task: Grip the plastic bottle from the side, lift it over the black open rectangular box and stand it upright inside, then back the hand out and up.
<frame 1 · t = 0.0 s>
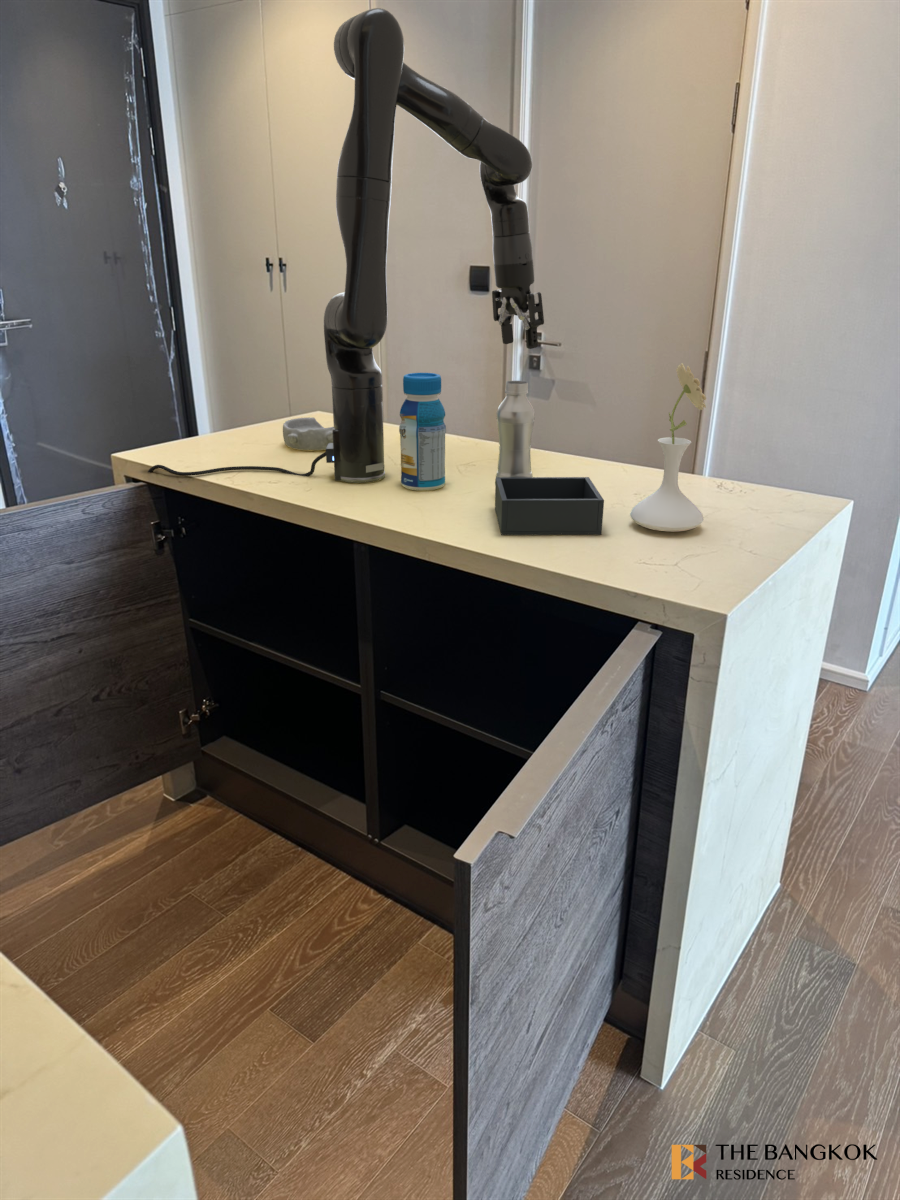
hand: (520, 345, 173), 22 cm above the table, tool pointing down, fingers open, 8 cm apart
dish: (314, 446, 189), on the table
beverage bottle: (423, 486, 159), on the table
plastic bottle: (513, 498, 152), on the table
black open rectangular box: (545, 521, 140), on the table
flower in vase: (665, 526, 138), on the table
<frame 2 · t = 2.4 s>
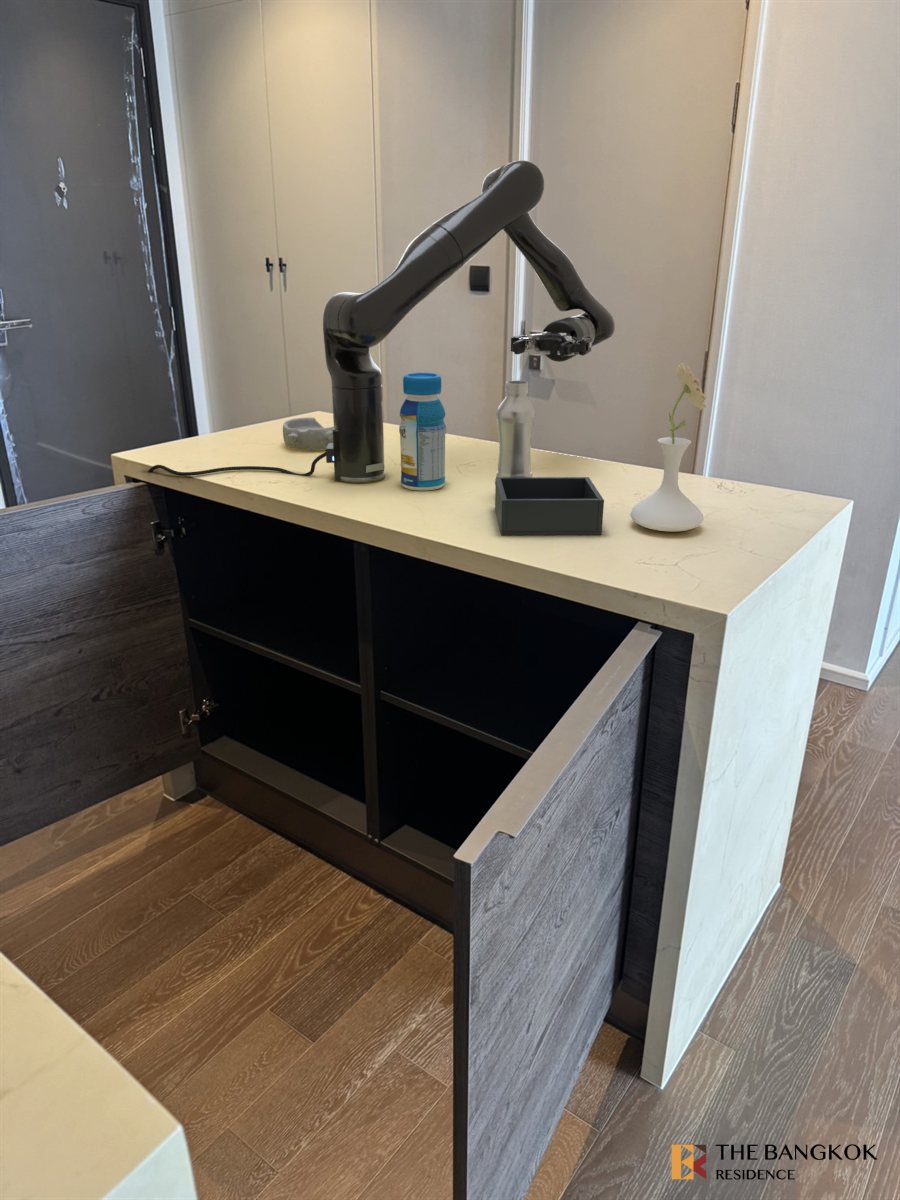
hand: (539, 349, 152), 24 cm above the table, tool horizontal, fingers open, 8 cm apart
nothing on the table moved.
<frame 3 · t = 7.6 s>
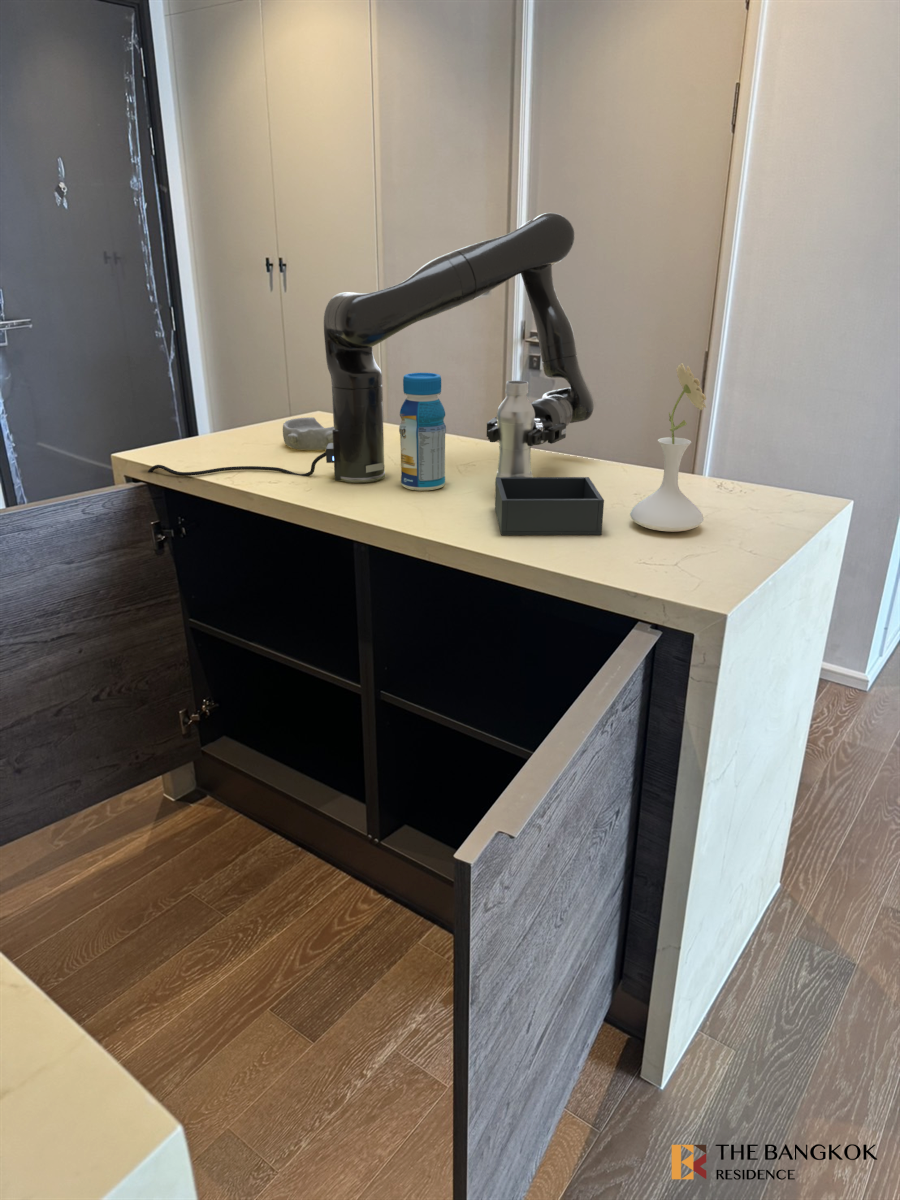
hand: (510, 438, 146), 11 cm above the table, tool horizontal, fingers closed on plastic bottle, 6 cm apart
plastic bottle: (513, 498, 152), on the table, touching gripper
everything else where it was.
when the fingers open (12 cm above the table, at t = 16.3 s): plastic bottle stays where it is, resting on black open rectangular box.
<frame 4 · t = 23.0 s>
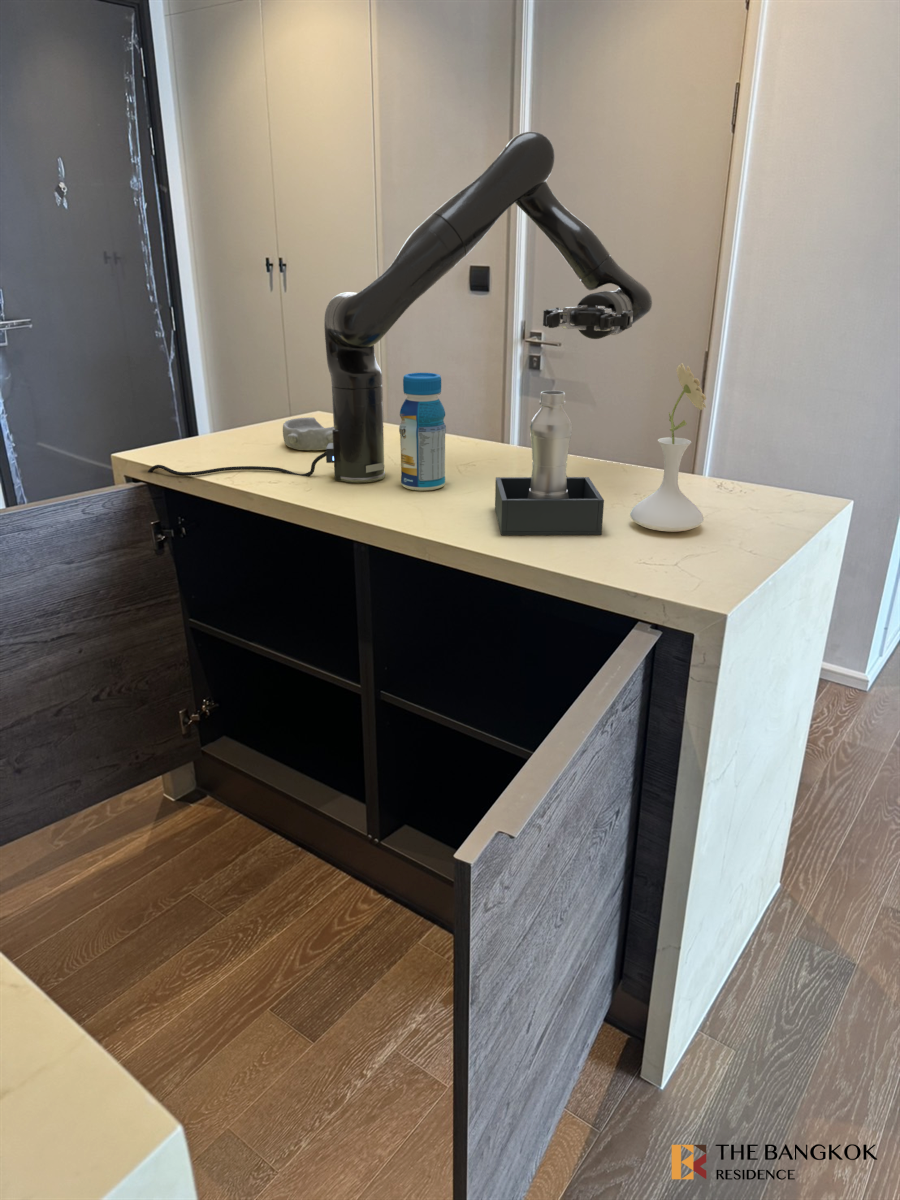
hand: (576, 322, 137), 30 cm above the table, tool horizontal, fingers open, 8 cm apart
plastic bottle: (547, 519, 139), resting on black open rectangular box
everything else where it was.
at the end: plastic bottle inside the target area in the black open rectangular box (0.2 cm from its centre), point 0.4 cm above the black open rectangular box's base; plastic bottle tilted 0°; the gripper is holding nothing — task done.
